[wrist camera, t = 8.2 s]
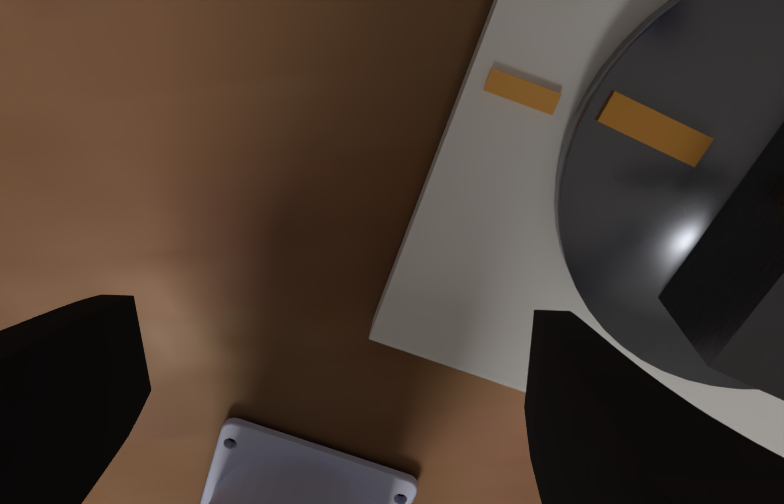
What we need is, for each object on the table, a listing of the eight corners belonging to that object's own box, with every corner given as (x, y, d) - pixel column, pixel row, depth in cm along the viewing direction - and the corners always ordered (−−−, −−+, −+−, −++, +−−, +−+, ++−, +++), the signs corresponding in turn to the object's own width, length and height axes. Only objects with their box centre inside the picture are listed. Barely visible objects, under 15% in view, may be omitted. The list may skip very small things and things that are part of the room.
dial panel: (832, 474, 22) (862, 510, 20) (373, 316, 21) (367, 342, 19) (1267, -38, 15) (1364, -43, 13) (610, -309, 14) (631, -347, 12)
